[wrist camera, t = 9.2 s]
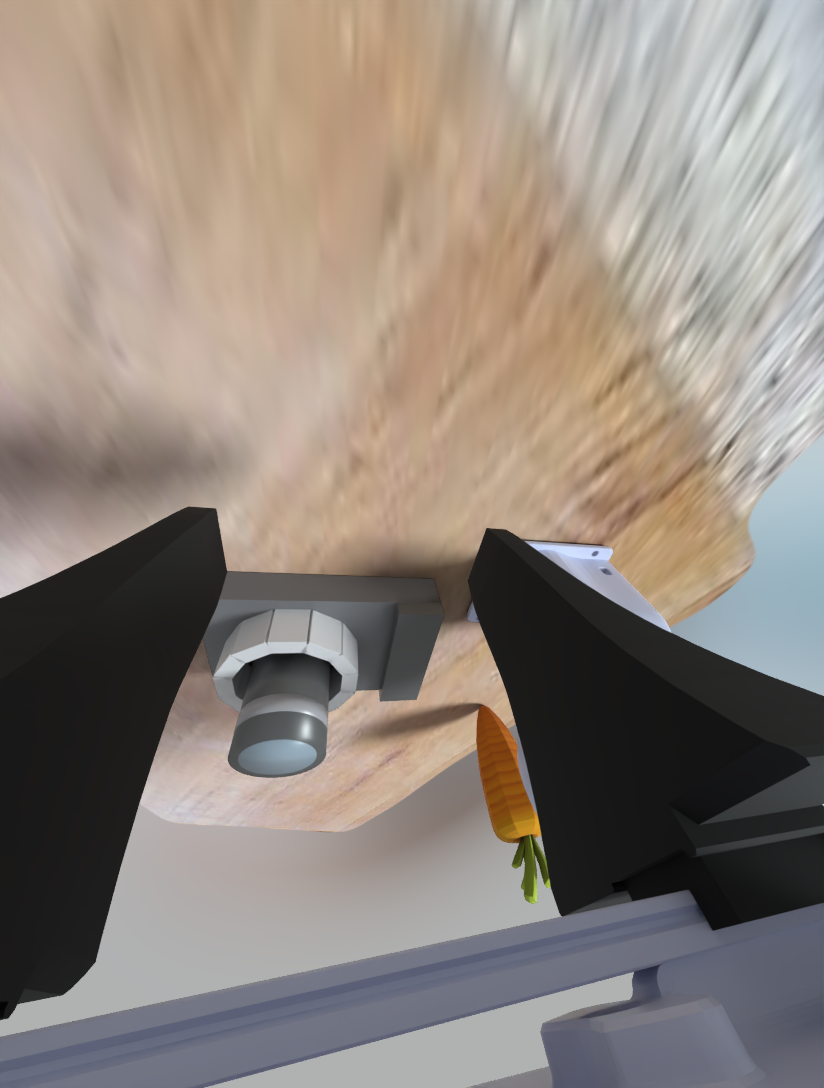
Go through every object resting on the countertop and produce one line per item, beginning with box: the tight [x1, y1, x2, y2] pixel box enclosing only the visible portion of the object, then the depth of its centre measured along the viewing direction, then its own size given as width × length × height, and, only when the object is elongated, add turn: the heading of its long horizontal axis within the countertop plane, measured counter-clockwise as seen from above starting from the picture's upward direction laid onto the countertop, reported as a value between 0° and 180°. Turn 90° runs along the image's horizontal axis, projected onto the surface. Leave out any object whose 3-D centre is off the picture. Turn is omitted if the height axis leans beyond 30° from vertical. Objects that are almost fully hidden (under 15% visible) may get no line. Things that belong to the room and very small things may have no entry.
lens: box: [228, 653, 331, 778], centre depth 21 cm, size 5×5×6 cm
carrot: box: [476, 705, 551, 904], centre depth 31 cm, size 5×5×15 cm
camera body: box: [203, 572, 444, 713], centre depth 24 cm, size 15×10×5 cm, turn 80°
